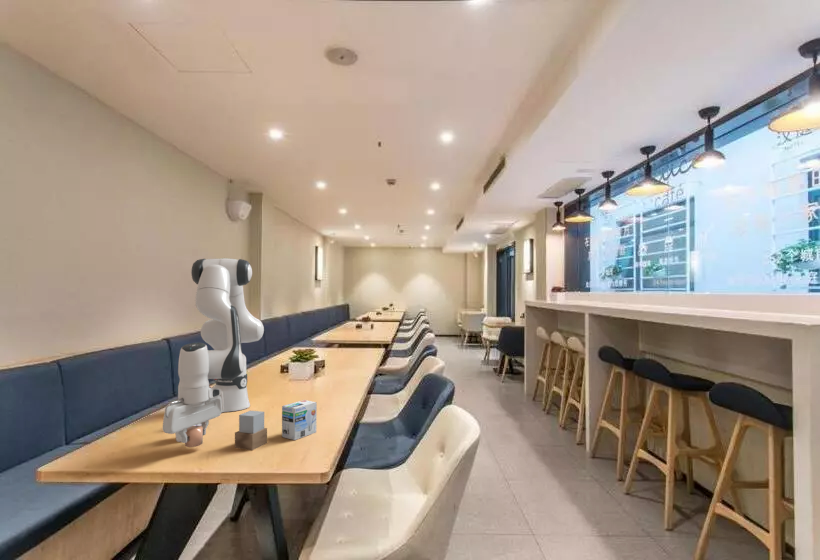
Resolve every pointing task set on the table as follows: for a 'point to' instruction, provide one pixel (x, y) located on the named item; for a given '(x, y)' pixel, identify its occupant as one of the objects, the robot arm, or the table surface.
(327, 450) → the table surface
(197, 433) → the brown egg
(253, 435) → the tower base
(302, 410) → the light bulb box
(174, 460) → the table surface
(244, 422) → the tower mid
